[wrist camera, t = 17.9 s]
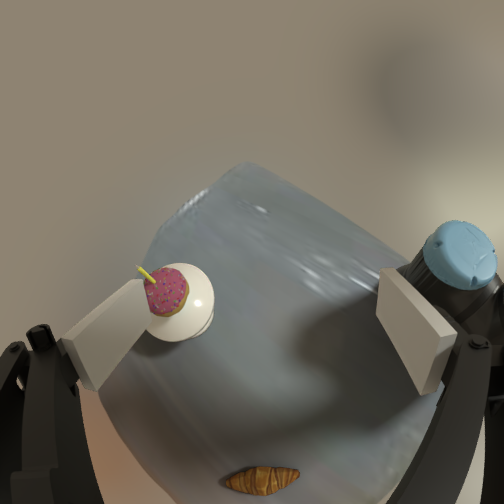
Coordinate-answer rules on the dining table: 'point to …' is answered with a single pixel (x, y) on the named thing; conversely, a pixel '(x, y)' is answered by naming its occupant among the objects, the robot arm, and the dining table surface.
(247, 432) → the dining table surface
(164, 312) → the cupcake
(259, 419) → the dining table surface
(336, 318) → the dining table surface
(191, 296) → the cake stand
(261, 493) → the croissant
